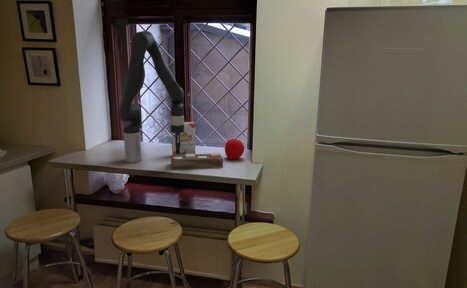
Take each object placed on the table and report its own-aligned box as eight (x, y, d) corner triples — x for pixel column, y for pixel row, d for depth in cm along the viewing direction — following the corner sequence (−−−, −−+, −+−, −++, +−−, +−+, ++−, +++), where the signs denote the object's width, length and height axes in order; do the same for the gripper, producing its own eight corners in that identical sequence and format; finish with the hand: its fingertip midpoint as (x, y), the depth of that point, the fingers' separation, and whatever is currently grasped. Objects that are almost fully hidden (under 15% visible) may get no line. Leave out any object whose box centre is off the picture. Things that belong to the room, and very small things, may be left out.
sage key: (197, 161, 192) (197, 156, 191) (206, 160, 193) (206, 155, 192) (198, 163, 187) (198, 158, 187) (207, 163, 188) (207, 158, 187)
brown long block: (170, 163, 192) (170, 154, 191) (219, 161, 198) (219, 153, 197) (171, 169, 182) (171, 160, 181) (222, 166, 187) (222, 158, 186)
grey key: (185, 159, 190) (185, 154, 190) (194, 158, 191) (194, 153, 191) (186, 161, 186) (186, 156, 185) (195, 161, 186) (195, 155, 186)
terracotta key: (209, 158, 193) (209, 153, 192) (218, 157, 194) (218, 152, 193) (211, 160, 188) (211, 155, 188) (219, 160, 189) (219, 155, 188)
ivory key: (173, 162, 189) (173, 157, 189) (182, 161, 190) (182, 156, 190) (173, 164, 185) (173, 159, 184) (182, 164, 185) (182, 159, 185)
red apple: (220, 159, 203) (220, 139, 200) (230, 155, 212) (230, 135, 209) (238, 162, 196) (238, 141, 194) (247, 158, 206) (247, 138, 203)
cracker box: (173, 157, 205) (173, 124, 200) (171, 155, 210) (170, 122, 205) (195, 155, 210) (195, 122, 205) (193, 153, 215) (192, 121, 211)
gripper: (170, 121, 188) (170, 151, 192) (170, 125, 176) (171, 157, 180) (183, 121, 190) (183, 150, 194) (185, 125, 177) (185, 156, 181)
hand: (177, 153), depth 187 cm, fingers closed
